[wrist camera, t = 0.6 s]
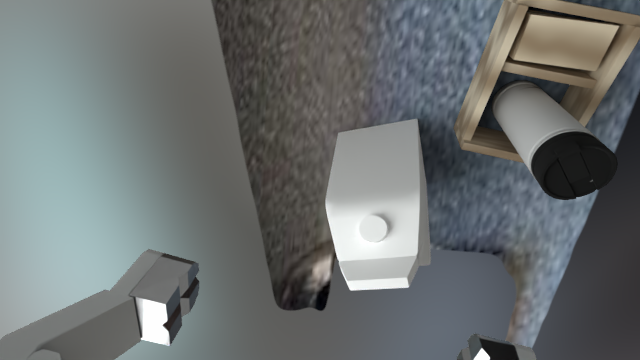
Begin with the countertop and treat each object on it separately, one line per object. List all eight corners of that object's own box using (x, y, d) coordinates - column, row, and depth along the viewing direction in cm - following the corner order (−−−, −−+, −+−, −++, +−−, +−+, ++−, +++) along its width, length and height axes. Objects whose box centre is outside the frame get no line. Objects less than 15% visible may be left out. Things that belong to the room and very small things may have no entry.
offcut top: (525, 12, 40) (531, 14, 38) (609, 23, 39) (619, 25, 38) (509, 55, 43) (513, 59, 41) (587, 66, 42) (595, 71, 40)
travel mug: (529, 67, 46) (608, 129, 29) (548, 108, 48) (632, 188, 31) (482, 94, 49) (529, 164, 32) (502, 131, 51) (556, 216, 34)
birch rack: (507, -10, 42) (526, -5, 36) (620, 11, 41) (658, 19, 35) (453, 127, 52) (461, 149, 46) (543, 146, 51) (563, 171, 45)
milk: (354, 193, 61) (332, 324, 39) (338, 132, 55) (303, 244, 34) (426, 184, 57) (447, 321, 36) (417, 118, 52) (435, 232, 30)
